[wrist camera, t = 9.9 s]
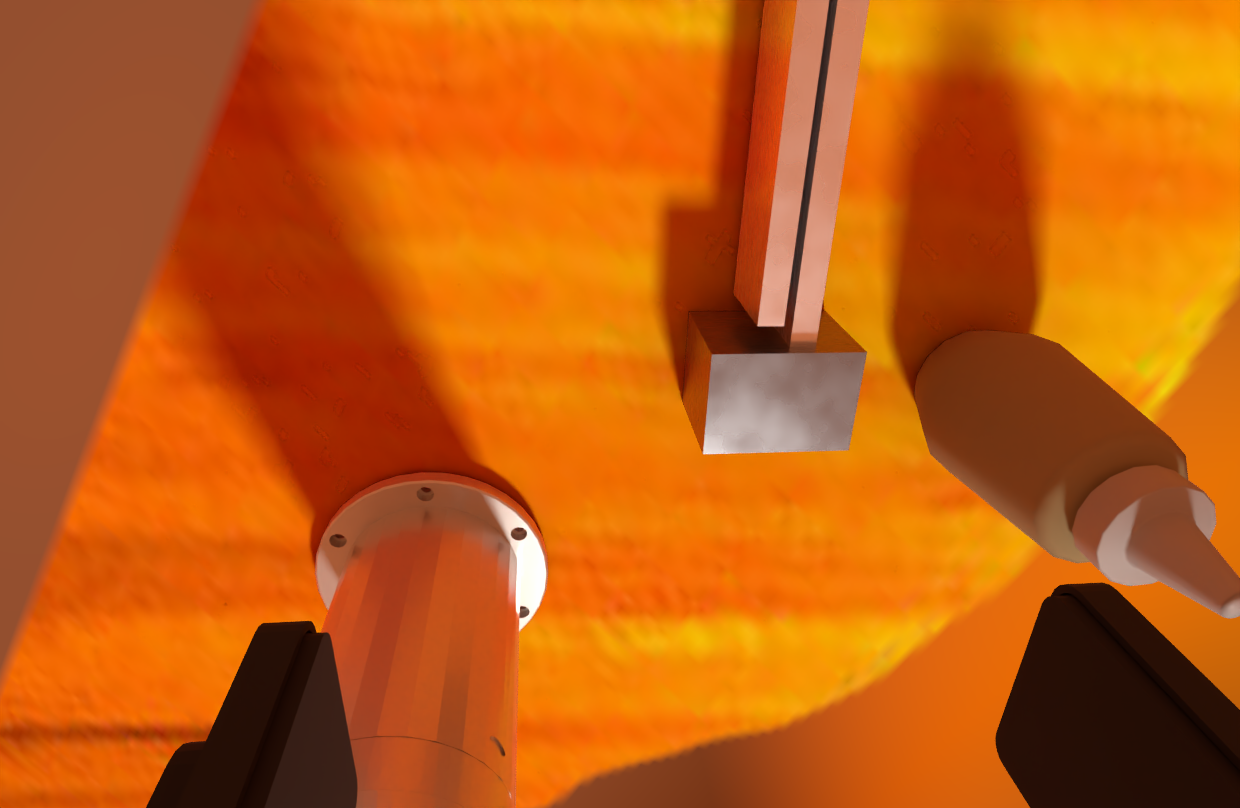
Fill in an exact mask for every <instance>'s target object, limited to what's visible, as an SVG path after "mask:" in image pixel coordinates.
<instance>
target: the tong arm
mask: <svg viewBox="0 0 1240 808" xmlns="http://www.w3.org/2000/svg"><path fill="white" fill-rule="evenodd" d="M828 6H829V0H764V8H763V18H762V27H761V37H760V46H759V56H758V65H757V75H756V84H755V94H754V103H753V112H752V122H751V131H750V141H749V150H748V160H747V169H746V179H745V188H744V198H743V207H742V217H741V226H740V236H739V245H738V255H737V264H736V274H735V283H734V293H733V294H734V295H735V297H736V298H737V299H738V301H739V302H740V303H741V305H742V306H743V307H744V309H745V310H746V312H747V313H748V314H749V316H750V317H751V318H752V320H753V321H754V322H755V324H756V325H757V326H784V323H785V315H786V308H787V301H788V294H789V287H790V279H791V272H792V265H793V258H794V251H795V243H796V236H797V229H798V222H799V215H800V208H801V200H802V193H803V186H804V179H805V172H806V164H807V157H808V150H809V143H810V136H811V128H812V121H813V114H814V107H815V100H816V92H817V85H818V78H819V71H820V64H821V56H822V49H823V42H824V35H825V28H826V20H827V13H828Z"/></svg>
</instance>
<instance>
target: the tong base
mask: <svg viewBox="0 0 1240 808" xmlns="http://www.w3.org/2000/svg"><path fill="white" fill-rule="evenodd" d="M868 5H869V0H829V6H828V13H827V20H826V28H825V35H824V42H823V49H822V56H821V64H820V71H819V78H818V85H817V92H816V100H815V107H814V114H813V121H812V128H811V136H810V143H809V150H808V157H807V164H806V172H805V179H804V186H803V193H802V200H801V208H800V215H799V222H798V229H797V236H796V243H795V251H794V258H793V265H792V272H791V279H790V287H789V294H788V301H787V308H786V315H785V323H784V326H757V325H756V324H755V322H754V321H753V320H752V318H751V317H750V316H749V314H748V313H747V312H746V311H689V314H688V328H687V342H686V356H685V370H684V383H683V397H682V402H683V405H684V407H685V410H686V412H687V415H688V417H689V420H690V422H691V425H692V428H693V430H694V433H695V435H696V438H697V440H698V443H699V445H700V448H701V450H702V453H703V454H727V453H763V452H799V451H835V450H849V445H850V440H851V434H852V429H853V424H854V418H855V413H856V408H857V402H858V397H859V392H860V386H861V381H862V376H863V370H864V365H865V360H866V354H867V352H866V351H865V350H864V349H863V348H862V347H861V346H860V345H859V344H858V343H857V342H856V341H855V340H854V339H853V338H852V337H851V336H850V335H849V334H848V333H847V332H846V331H845V330H844V329H843V328H842V327H841V326H840V325H839V324H838V323H837V322H836V321H835V320H834V319H833V318H832V317H831V316H830V315H829V314H828V313H827V312H826V311H825V310H822V304H823V297H824V291H825V284H826V278H827V271H828V265H829V258H830V252H831V245H832V239H833V232H834V226H835V219H836V213H837V206H838V200H839V193H840V187H841V180H842V174H843V167H844V161H845V154H846V148H847V141H848V135H849V128H850V122H851V115H852V109H853V102H854V96H855V89H856V83H857V76H858V70H859V64H860V57H861V51H862V44H863V38H864V31H865V25H866V18H867V12H868Z"/></svg>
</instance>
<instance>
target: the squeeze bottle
mask: <svg viewBox="0 0 1240 808" xmlns="http://www.w3.org/2000/svg"><path fill="white" fill-rule="evenodd" d="M914 397H915V400H916V404H917V408H918V412H919V416H920V420H921V424H922V428H923V431H924V435H925V438H926V441H927V444H928V448H929V451H930V454H931V455H932V456H933V457H934V458H935V459H936V460H937V461H938V462H939V463H941V464H942V465H943V466H944V467H945V468H946V469H947V470H948V471H949V472H950V473H952V474H953V475H954V476H955V477H956V478H958V479H959V480H960V481H961V482H963V483H964V484H965V485H966V486H967V487H969V488H970V489H971V490H972V491H974V492H975V493H976V494H977V495H978V496H980V497H981V498H982V499H983V500H985V501H986V502H987V503H988V504H989V505H991V506H992V507H993V508H994V509H996V510H997V511H998V512H999V513H1000V514H1002V515H1003V516H1004V517H1005V518H1007V519H1008V520H1009V521H1010V522H1011V523H1013V524H1014V525H1015V526H1016V527H1018V528H1019V529H1020V530H1021V531H1022V532H1024V533H1025V534H1026V535H1027V536H1029V537H1030V538H1031V539H1032V540H1034V541H1035V542H1036V543H1037V544H1038V545H1040V546H1041V547H1042V548H1043V549H1045V550H1046V551H1047V552H1048V553H1049V554H1051V555H1052V556H1053V557H1056V558H1060V559H1064V560H1067V561H1071V562H1075V563H1084V562H1091V563H1092V564H1093V565H1094V566H1095V567H1096V568H1097V569H1098V570H1100V571H1101V572H1102V573H1103V574H1104V575H1105V576H1106V577H1107V578H1108V579H1109V580H1110V581H1113V582H1116V583H1120V584H1124V585H1128V586H1132V585H1142V584H1152V583H1154V582H1157V581H1160V582H1162V583H1164V584H1166V585H1168V586H1169V587H1171V588H1173V589H1175V590H1176V591H1178V592H1180V593H1182V594H1184V595H1185V596H1187V597H1189V598H1191V599H1193V600H1194V601H1196V602H1198V603H1200V604H1201V605H1203V606H1205V607H1207V608H1208V609H1210V610H1212V611H1214V612H1216V613H1217V614H1219V615H1221V616H1223V617H1225V618H1235V617H1238V616H1240V578H1239V577H1238V575H1237V574H1236V573H1235V572H1234V571H1233V569H1232V568H1231V567H1230V566H1229V564H1228V563H1227V562H1226V561H1225V560H1224V558H1223V557H1222V556H1221V555H1220V553H1219V552H1218V551H1217V550H1216V548H1215V547H1214V546H1213V545H1212V544H1211V542H1210V541H1209V540H1210V538H1211V535H1212V533H1213V530H1214V527H1215V525H1216V515H1215V505H1214V503H1213V502H1212V500H1211V499H1210V498H1209V497H1208V496H1207V494H1206V493H1205V492H1204V491H1203V490H1201V489H1200V488H1198V487H1197V486H1196V485H1194V484H1193V483H1191V482H1190V481H1188V475H1187V474H1188V473H1187V464H1186V456H1185V454H1184V453H1183V452H1182V451H1181V449H1180V448H1179V447H1178V446H1177V445H1176V443H1175V442H1174V441H1173V440H1172V439H1171V437H1169V436H1168V435H1167V434H1166V433H1165V432H1163V431H1162V430H1161V429H1160V428H1159V427H1157V426H1156V425H1155V424H1154V423H1153V422H1152V421H1150V420H1149V419H1148V418H1147V417H1146V416H1144V415H1143V414H1142V413H1141V412H1140V411H1138V410H1137V409H1136V408H1135V407H1134V406H1133V405H1131V404H1130V403H1129V402H1128V401H1127V400H1125V399H1124V398H1123V397H1122V396H1121V395H1119V394H1118V393H1117V392H1116V391H1115V390H1114V389H1112V388H1111V387H1110V386H1109V385H1108V384H1106V383H1105V382H1104V381H1103V380H1102V379H1100V378H1099V377H1098V376H1097V375H1096V374H1095V373H1093V372H1092V371H1091V370H1090V369H1089V368H1087V367H1086V366H1085V365H1084V364H1083V363H1081V362H1080V361H1079V360H1078V359H1077V358H1076V357H1074V356H1073V355H1072V354H1071V353H1070V352H1068V351H1067V350H1066V349H1065V348H1064V347H1062V346H1061V345H1060V344H1058V343H1055V342H1053V341H1050V340H1047V339H1044V338H1042V337H1039V336H1036V335H1033V334H1023V333H1013V332H1003V331H992V330H980V331H967V332H964V333H961V334H959V335H957V336H955V337H952V338H950V339H948V340H946V341H944V342H943V343H942V344H941V345H940V346H939V347H938V348H936V349H935V350H934V351H933V352H932V353H931V354H930V355H929V356H928V357H927V358H926V360H925V362H924V364H923V365H922V367H921V369H920V371H919V372H918V374H917V378H916V384H915V391H914Z"/></svg>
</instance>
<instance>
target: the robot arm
mask: <svg viewBox="0 0 1240 808" xmlns="http://www.w3.org/2000/svg"><path fill="white" fill-rule="evenodd" d="M425 487H427V488H425ZM315 575H316V581H317V586H318V591H319V593H320V595H321V598H322V600H323V602H324V604H325V606H326V608H327V609H328V613H327V616H326V619H325V622H324V625H323V628H322V631H321V633H316V630H315V626H314V624H313V623H312V622H311V621H299V622H279V623H263V624H261V625H260V626H259V627H258V629H257V630H256V632H255V634H254V636H253V638H252V641H251V643H250V645H249V647H248V650H247V652H246V654H245V656H244V658H243V661H242V663H241V665H240V667H239V669H238V672H237V674H236V676H235V678H234V680H233V683H232V685H231V687H230V689H229V692H228V694H227V696H226V698H225V700H224V703H223V705H222V707H221V709H220V711H219V714H218V716H217V718H216V720H215V723H214V725H213V727H212V729H211V731H210V734H209V736H208V738H207V740H206V741H201V742H190V743H185V744H183V745H182V746H181V747H180V748H178V749H177V750H176V751H175V753H174V754H173V756H172V758H171V759H170V761H169V762H168V764H167V766H166V768H165V770H164V772H163V774H162V776H161V778H160V780H159V782H158V784H157V786H156V788H155V790H154V792H153V794H152V796H151V799H150V801H149V803H148V805H147V807H146V808H515V796H516V749H517V702H518V655H519V632H520V631H521V630H522V629H523V628H524V627H525V626H526V624H527V623H528V622H529V621H530V620H531V619H532V618H533V616H534V614H535V613H536V611H537V610H538V608H539V606H540V605H541V602H542V599H543V597H544V594H545V591H546V587H547V577H548V562H547V552H546V548H545V544H544V541H543V537H542V535H541V533H540V531H539V530H538V528H537V526H536V524H535V522H534V521H533V519H532V518H531V517H530V516H529V515H528V513H527V512H526V511H525V510H524V509H523V507H522V506H520V505H519V504H518V503H517V502H515V501H514V500H513V499H512V498H510V497H509V496H508V495H507V494H505V493H503V492H502V491H500V490H498V489H496V488H494V487H492V486H491V485H489V484H487V483H484V482H481V481H478V480H475V479H472V478H469V477H466V476H461V475H455V474H449V473H438V472H419V473H412V474H406V475H399V476H395V477H392V478H389V479H386V480H383V481H380V482H377V483H375V484H373V485H371V486H369V487H367V488H366V489H364V490H362V491H360V492H358V493H357V494H355V495H354V496H353V497H352V498H351V499H349V500H348V501H347V502H346V503H345V504H343V505H342V506H341V507H340V509H339V510H338V511H337V512H336V514H335V515H334V516H333V518H332V519H331V520H330V522H329V524H328V526H327V528H326V530H325V532H324V534H323V536H322V539H321V542H320V545H319V548H318V551H317V554H316V566H315ZM996 748H997V752H998V755H999V758H1000V760H1001V762H1002V763H1003V765H1004V767H1005V768H1006V770H1007V772H1008V773H1009V775H1010V776H1011V778H1012V779H1013V781H1014V783H1015V784H1016V785H1017V787H1018V789H1019V791H1020V792H1021V794H1022V795H1023V797H1024V799H1025V800H1026V801H1027V803H1028V805H1029V806H1030V808H1240V710H1239V709H1238V708H1237V707H1236V706H1235V705H1234V704H1233V703H1232V702H1231V701H1230V700H1229V699H1228V698H1227V697H1226V696H1225V695H1224V694H1223V693H1222V692H1221V691H1220V690H1219V689H1218V688H1217V687H1215V685H1214V684H1213V683H1212V682H1211V681H1210V680H1208V678H1207V677H1205V676H1204V675H1203V674H1202V673H1201V672H1200V671H1199V670H1198V669H1197V668H1196V667H1195V666H1194V665H1193V664H1192V663H1191V662H1190V661H1189V660H1188V659H1187V658H1186V657H1185V656H1184V655H1183V654H1182V653H1181V652H1180V651H1179V650H1178V649H1177V648H1176V647H1175V646H1174V645H1172V643H1171V642H1170V641H1169V640H1167V639H1166V638H1165V637H1164V636H1163V635H1162V634H1161V633H1160V632H1159V631H1158V630H1157V629H1156V628H1155V627H1154V626H1153V625H1152V624H1151V623H1150V622H1149V621H1148V620H1147V619H1146V618H1145V617H1144V616H1143V615H1142V614H1141V613H1140V612H1139V611H1138V610H1137V609H1136V608H1135V607H1134V606H1133V605H1132V604H1131V603H1130V602H1129V601H1128V600H1126V599H1125V598H1124V597H1123V596H1122V595H1121V594H1120V593H1119V592H1118V591H1117V590H1116V589H1114V588H1113V587H1112V586H1110V585H1109V584H1105V583H1086V584H1066V585H1060V586H1058V587H1057V588H1056V589H1054V592H1053V593H1052V595H1051V596H1050V597H1047V598H1046V599H1045V600H1044V601H1043V603H1042V606H1041V608H1040V611H1039V614H1038V617H1037V620H1036V622H1035V625H1034V628H1033V631H1032V634H1031V636H1030V639H1029V642H1028V645H1027V648H1026V651H1025V653H1024V656H1023V659H1022V662H1021V665H1020V668H1019V670H1018V673H1017V676H1016V679H1015V682H1014V684H1013V687H1012V690H1011V693H1010V696H1009V699H1008V701H1007V704H1006V707H1005V710H1004V713H1003V716H1002V718H1001V721H1000V724H999V727H998V730H997V733H996Z"/></svg>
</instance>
